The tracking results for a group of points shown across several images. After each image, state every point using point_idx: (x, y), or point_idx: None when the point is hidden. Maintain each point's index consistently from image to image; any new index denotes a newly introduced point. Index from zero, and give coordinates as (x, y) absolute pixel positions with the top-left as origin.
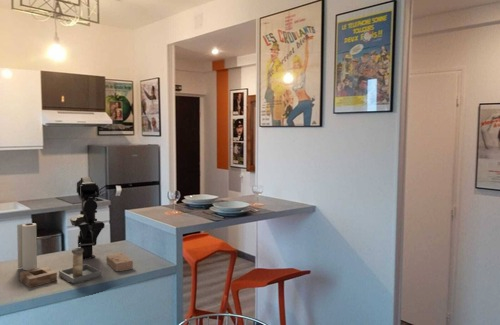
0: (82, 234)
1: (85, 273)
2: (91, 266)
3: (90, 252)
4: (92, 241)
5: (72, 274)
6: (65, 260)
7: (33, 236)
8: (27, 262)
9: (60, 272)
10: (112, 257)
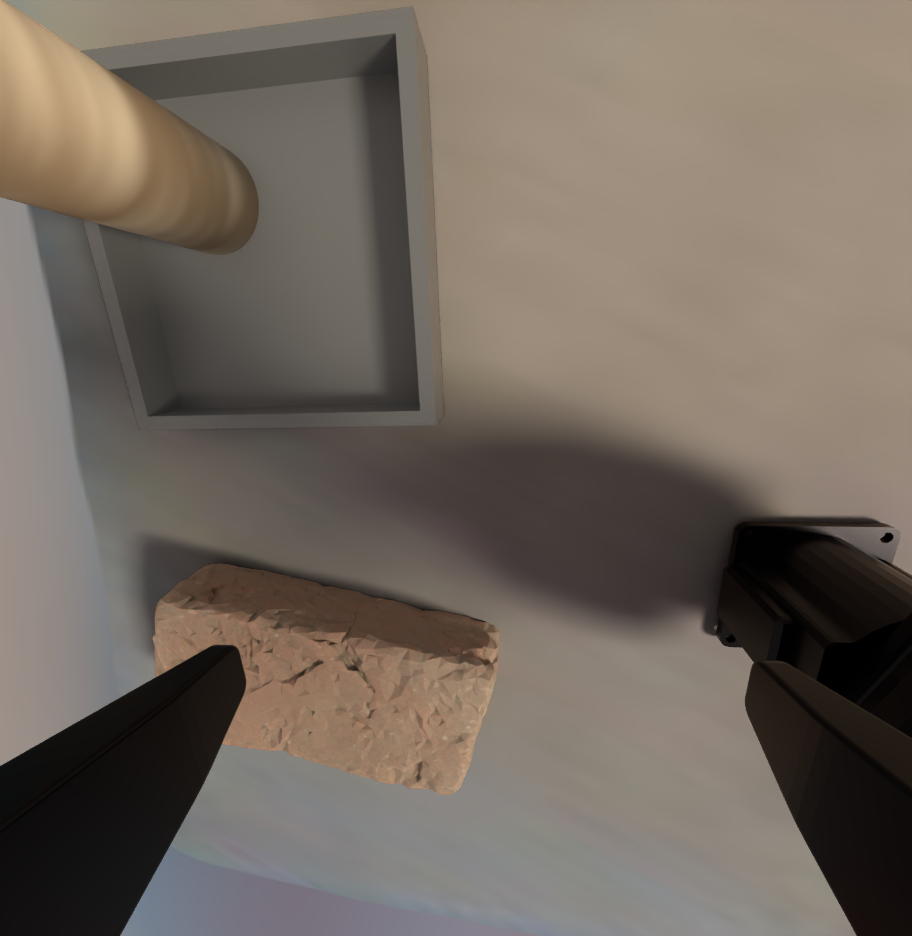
0: (887, 778)
1: (296, 329)
2: (323, 422)
3: (748, 629)
4: (219, 654)
5: (348, 201)
6: (906, 366)
7: None
8: None
9: (371, 20)
10: (376, 677)
